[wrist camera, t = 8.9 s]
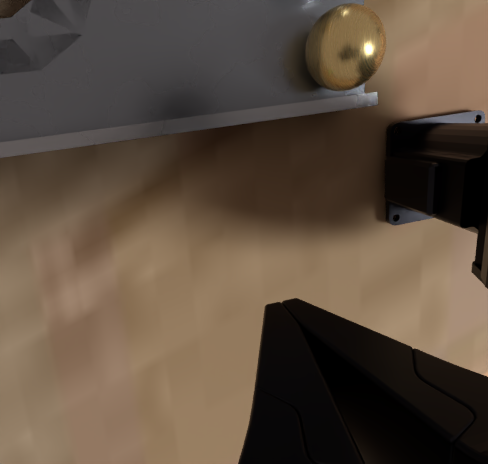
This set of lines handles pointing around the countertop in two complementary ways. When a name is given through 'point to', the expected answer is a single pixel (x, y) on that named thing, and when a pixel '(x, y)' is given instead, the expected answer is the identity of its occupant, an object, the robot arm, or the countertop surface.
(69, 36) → the tray
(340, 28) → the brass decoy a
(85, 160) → the countertop surface
